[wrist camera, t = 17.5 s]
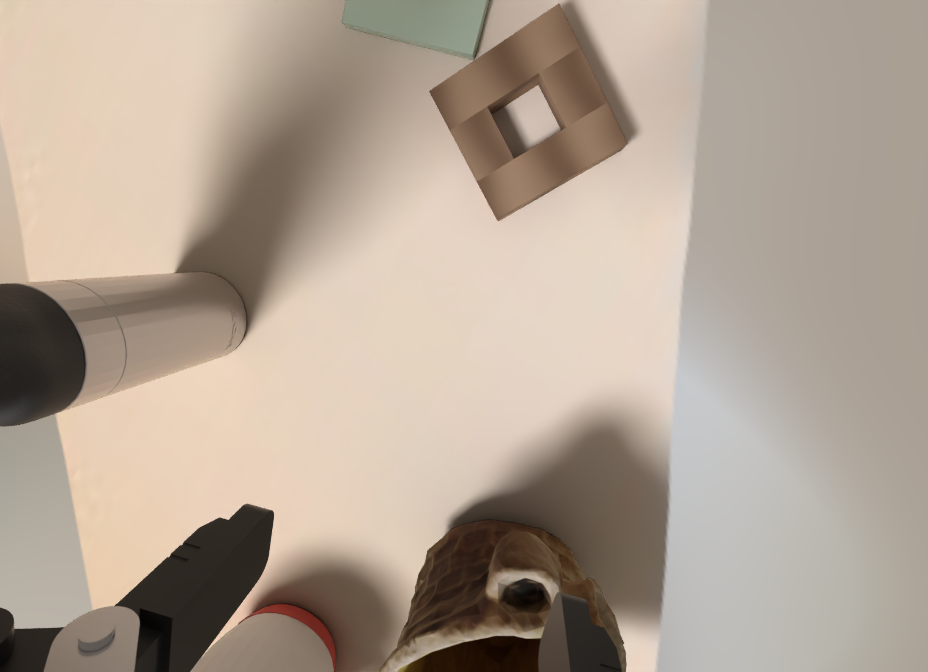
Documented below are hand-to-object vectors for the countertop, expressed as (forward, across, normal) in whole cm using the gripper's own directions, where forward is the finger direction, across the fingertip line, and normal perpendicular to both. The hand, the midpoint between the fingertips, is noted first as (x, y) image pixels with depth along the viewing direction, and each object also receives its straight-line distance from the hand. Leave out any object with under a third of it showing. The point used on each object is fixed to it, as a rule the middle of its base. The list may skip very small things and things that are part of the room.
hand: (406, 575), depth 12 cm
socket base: (+32, +1, -19) cm, 37 cm away
